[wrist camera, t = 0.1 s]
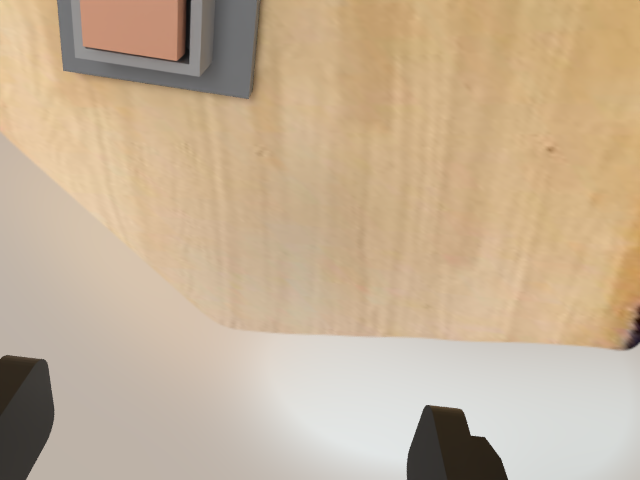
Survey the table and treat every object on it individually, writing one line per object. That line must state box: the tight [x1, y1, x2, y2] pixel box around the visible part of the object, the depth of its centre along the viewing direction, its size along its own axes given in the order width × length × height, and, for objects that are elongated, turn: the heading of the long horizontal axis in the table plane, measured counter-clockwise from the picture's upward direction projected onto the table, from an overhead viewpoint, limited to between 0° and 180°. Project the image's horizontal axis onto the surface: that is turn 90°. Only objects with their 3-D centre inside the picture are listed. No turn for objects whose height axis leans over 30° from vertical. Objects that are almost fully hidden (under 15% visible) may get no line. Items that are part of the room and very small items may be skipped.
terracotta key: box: [80, 0, 186, 61], centre depth 28 cm, size 5×5×2 cm
